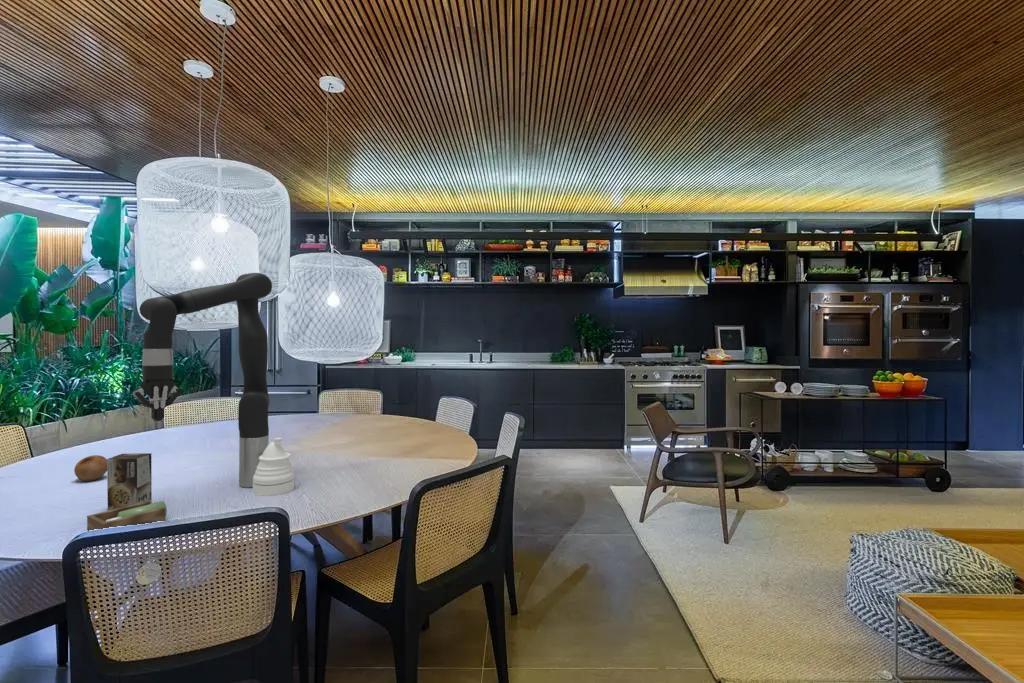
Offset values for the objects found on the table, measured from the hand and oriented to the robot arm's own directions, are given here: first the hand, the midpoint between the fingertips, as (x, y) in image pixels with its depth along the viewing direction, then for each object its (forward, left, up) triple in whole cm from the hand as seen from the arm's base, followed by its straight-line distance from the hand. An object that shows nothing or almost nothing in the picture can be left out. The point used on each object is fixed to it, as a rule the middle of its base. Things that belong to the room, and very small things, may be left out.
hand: (157, 420), depth 145 cm
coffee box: (+4, -8, -27) cm, 29 cm away
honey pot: (-30, +12, -27) cm, 42 cm away
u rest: (+10, +8, -27) cm, 30 cm away
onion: (-1, -53, -27) cm, 60 cm away
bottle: (+2, +9, -25) cm, 26 cm away
